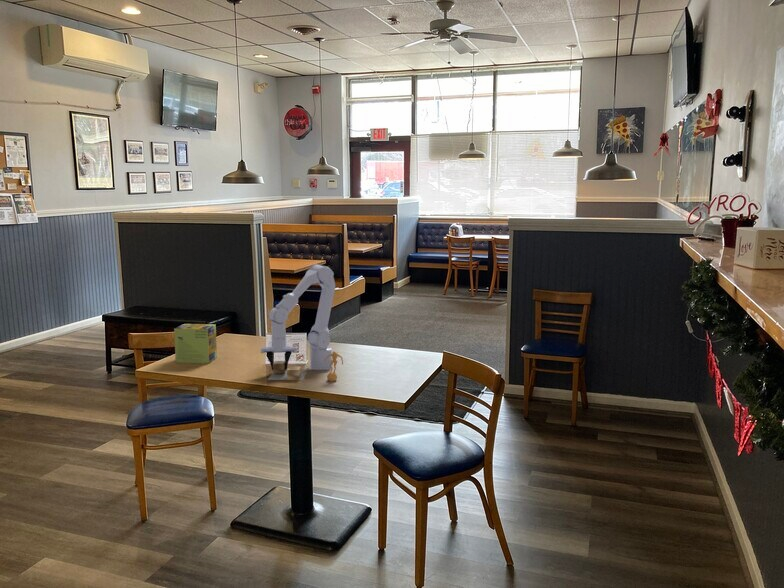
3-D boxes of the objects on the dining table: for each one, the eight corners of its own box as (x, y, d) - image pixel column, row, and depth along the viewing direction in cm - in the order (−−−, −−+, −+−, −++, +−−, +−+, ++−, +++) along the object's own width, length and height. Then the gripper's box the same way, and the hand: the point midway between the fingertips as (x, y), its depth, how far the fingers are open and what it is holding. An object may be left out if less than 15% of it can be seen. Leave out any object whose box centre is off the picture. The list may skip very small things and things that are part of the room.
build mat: (307, 372, 255) (307, 371, 255) (302, 381, 243) (302, 380, 243) (273, 372, 255) (273, 371, 255) (267, 381, 243) (267, 379, 243)
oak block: (301, 375, 249) (301, 366, 248) (299, 379, 244) (299, 369, 243) (288, 375, 249) (288, 366, 248) (286, 379, 244) (286, 369, 243)
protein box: (209, 363, 268) (208, 329, 265) (175, 363, 269) (173, 328, 266) (217, 357, 278) (216, 324, 276) (184, 356, 279) (183, 323, 276)
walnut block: (286, 370, 254) (285, 360, 254) (284, 373, 250) (283, 364, 249) (275, 370, 254) (275, 360, 254) (273, 373, 250) (272, 363, 249)
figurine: (320, 381, 243) (320, 352, 241) (327, 377, 248) (327, 349, 246) (339, 384, 240) (339, 354, 238) (346, 380, 245) (345, 351, 244)
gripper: (297, 334, 254) (298, 366, 256) (262, 335, 253) (263, 366, 256) (295, 338, 247) (296, 371, 249) (259, 339, 246) (260, 371, 249)
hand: (279, 369), depth 252 cm, fingers closed on walnut block, 5 cm apart
